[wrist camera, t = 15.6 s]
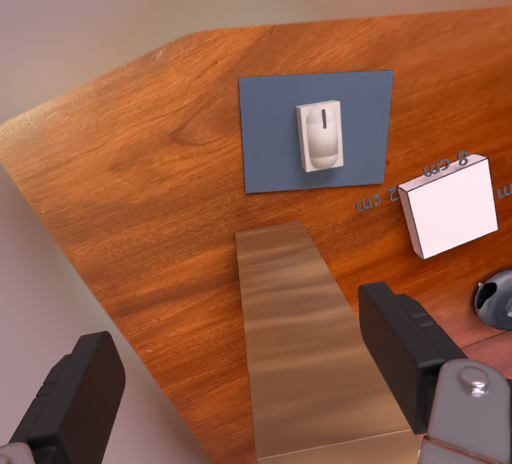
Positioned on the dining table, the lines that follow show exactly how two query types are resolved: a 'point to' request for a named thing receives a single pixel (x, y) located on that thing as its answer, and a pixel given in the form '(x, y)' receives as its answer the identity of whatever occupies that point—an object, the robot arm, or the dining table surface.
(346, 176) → the mouse pad
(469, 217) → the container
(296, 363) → the block
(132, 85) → the dining table surface
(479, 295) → the electronic device
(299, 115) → the white boxy piece
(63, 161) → the dining table surface
